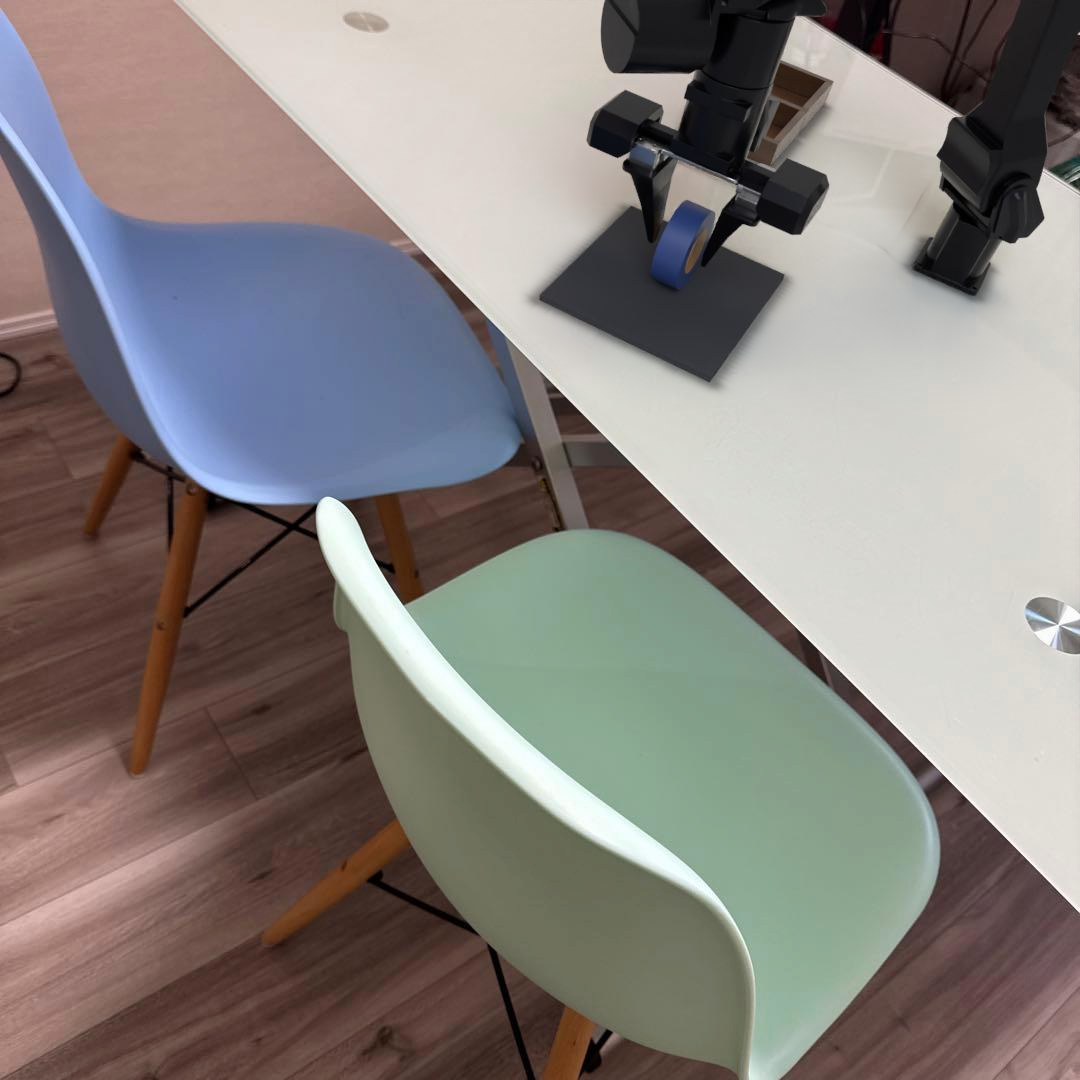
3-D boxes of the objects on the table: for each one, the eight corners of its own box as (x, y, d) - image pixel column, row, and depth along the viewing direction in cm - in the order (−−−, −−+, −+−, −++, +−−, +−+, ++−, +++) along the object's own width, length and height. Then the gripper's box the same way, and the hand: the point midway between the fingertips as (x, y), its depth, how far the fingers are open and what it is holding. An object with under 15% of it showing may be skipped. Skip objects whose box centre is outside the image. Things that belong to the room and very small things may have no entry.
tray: (767, 172, 102) (778, 144, 100) (681, 135, 104) (689, 107, 102) (823, 107, 114) (834, 81, 112) (745, 75, 116) (754, 48, 114)
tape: (668, 300, 83) (698, 221, 79) (641, 287, 83) (669, 209, 79) (694, 278, 88) (723, 203, 84) (668, 266, 89) (696, 191, 84)
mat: (709, 382, 79) (712, 376, 79) (539, 299, 82) (540, 294, 82) (782, 279, 90) (785, 274, 90) (629, 210, 93) (631, 205, 93)
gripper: (884, 80, 75) (808, 255, 86) (666, -6, 78) (622, 172, 90) (841, 134, 68) (765, 316, 80) (605, 37, 71) (566, 224, 83)
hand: (678, 252), depth 83 cm, fingers open, 5 cm apart
